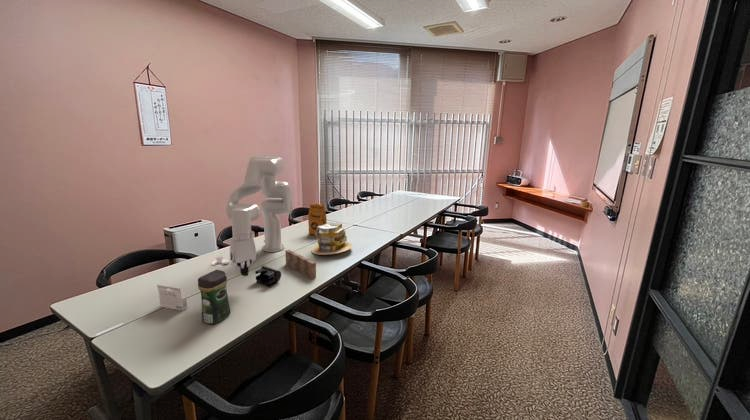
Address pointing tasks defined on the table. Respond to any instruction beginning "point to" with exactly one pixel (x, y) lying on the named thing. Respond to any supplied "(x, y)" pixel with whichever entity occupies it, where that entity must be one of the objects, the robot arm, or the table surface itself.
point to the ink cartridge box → (172, 298)
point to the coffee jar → (214, 296)
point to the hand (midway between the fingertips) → (244, 275)
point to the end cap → (267, 276)
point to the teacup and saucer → (220, 260)
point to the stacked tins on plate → (331, 239)
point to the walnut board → (301, 264)
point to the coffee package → (316, 217)
